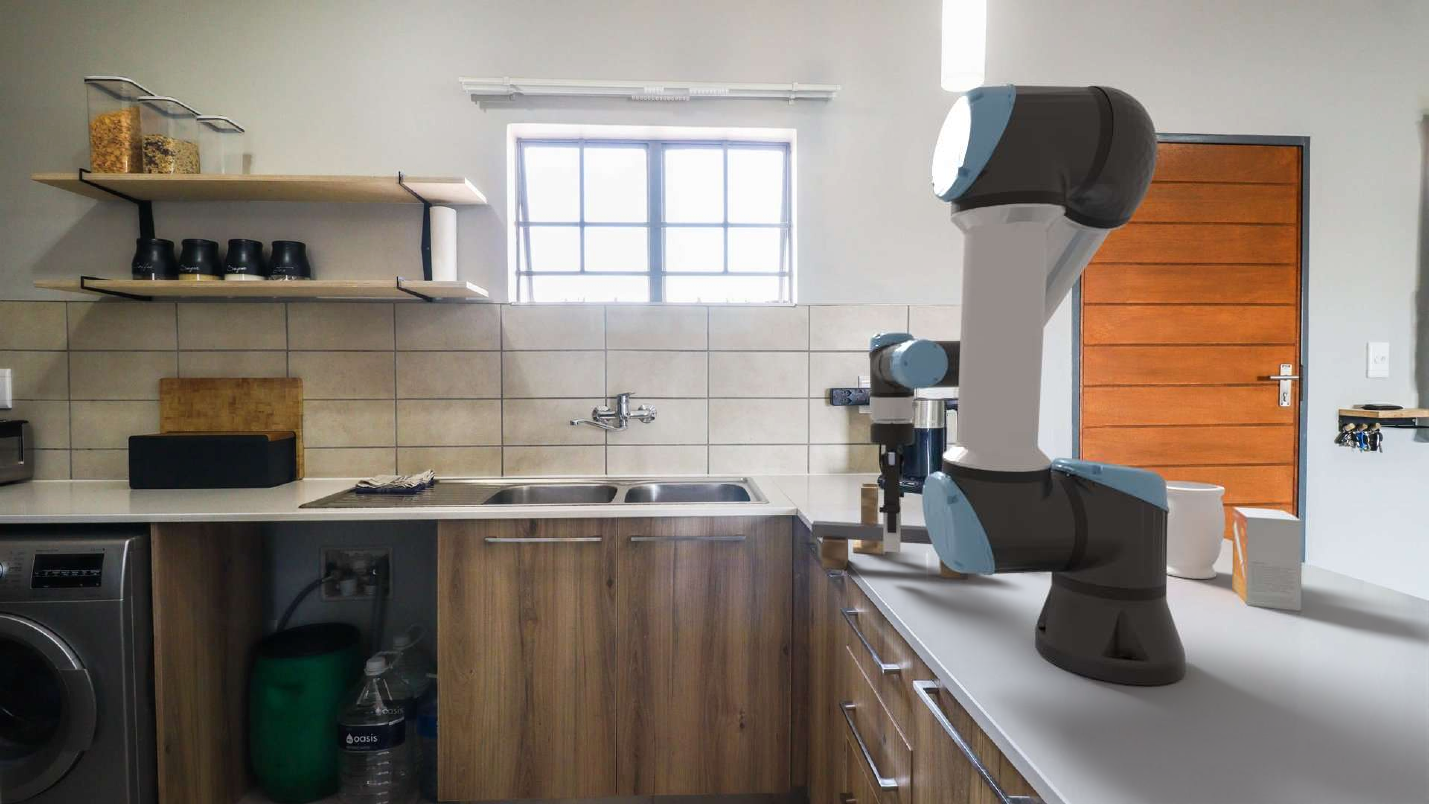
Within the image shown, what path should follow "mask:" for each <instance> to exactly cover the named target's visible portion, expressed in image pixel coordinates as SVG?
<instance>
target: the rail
mask: <svg viewBox="0 0 1429 804" xmlns="http://www.w3.org/2000/svg"><path fill="white" fill-rule="evenodd" d="M811 538H814V539H815V538H816V539H817V538H818V539H823V538H832V539H848V541H850V540H852V541H855V540H867V541H883V523H878V524H870V523H861V522H851V521H850V522H849V521H848V522H847V521H846V522H845V521H830V520H829V521H828V520H827V521H826V520H813V521H812V523H811ZM901 543H905V544H921V545H922V544H923V545H932V542H931V540H930V537H929V534H928V531H927V527H926V525H907V524H901V525H900V544H901Z"/></svg>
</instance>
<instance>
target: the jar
mask: <svg viewBox="0 0 1429 804" xmlns="http://www.w3.org/2000/svg"><path fill="white" fill-rule="evenodd" d="M1164 481H1165V483H1166V489H1167V502H1168V508H1169V513H1168V522H1167V576H1168V575H1169V576H1174V577H1178V578H1185V579H1193V580H1194V579H1195V580H1208V579H1213V578H1215V577H1216V576H1217V572H1216V570H1215V568H1214V567H1213V566H1214V565H1215V563H1216V562H1217V561H1218V558H1220V557H1219V556H1220V554H1221V551H1222V543H1223V540H1224V536H1225V529H1226V514H1225V509H1224V504H1223V501H1222V499H1221V498H1222V496H1224V495H1225V493H1226V490H1225V487H1223V486H1221V485H1215V484H1210V483H1206V482H1205V483H1204V482H1196V481H1181V480H1164Z"/></svg>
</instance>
